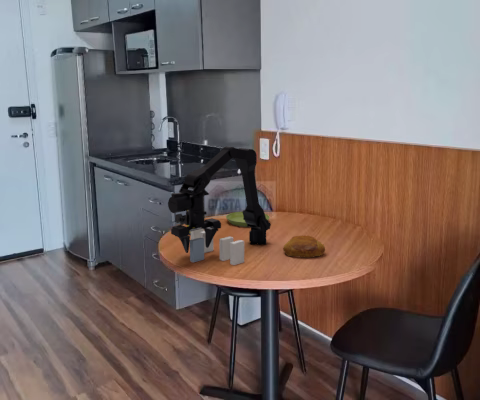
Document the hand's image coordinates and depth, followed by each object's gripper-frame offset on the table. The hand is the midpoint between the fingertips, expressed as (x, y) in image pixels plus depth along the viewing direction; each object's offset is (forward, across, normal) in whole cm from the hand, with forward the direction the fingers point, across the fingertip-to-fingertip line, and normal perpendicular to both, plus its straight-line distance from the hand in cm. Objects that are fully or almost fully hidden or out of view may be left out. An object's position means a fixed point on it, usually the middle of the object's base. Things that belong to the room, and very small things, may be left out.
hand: (197, 250), depth 177 cm
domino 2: (+4, 0, 0) cm, 4 cm away
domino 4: (+4, -9, +6) cm, 11 cm away
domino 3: (+4, -9, -6) cm, 11 cm away
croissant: (+4, -36, +20) cm, 41 cm away
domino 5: (+4, -9, +12) cm, 15 cm away
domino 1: (+4, -9, -12) cm, 15 cm away
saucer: (+4, -50, -28) cm, 57 cm away
